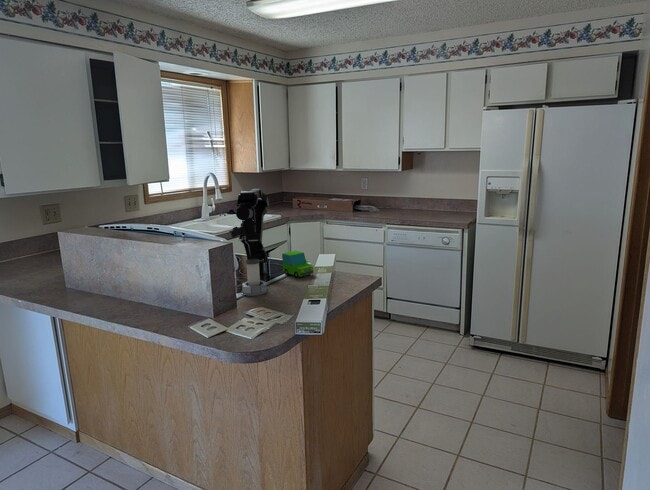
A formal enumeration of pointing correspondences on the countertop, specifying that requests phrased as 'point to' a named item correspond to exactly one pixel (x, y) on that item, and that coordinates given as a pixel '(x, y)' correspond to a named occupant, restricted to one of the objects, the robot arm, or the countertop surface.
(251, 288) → the grey octagonal ring
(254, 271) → the white cylinder
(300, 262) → the toy car
